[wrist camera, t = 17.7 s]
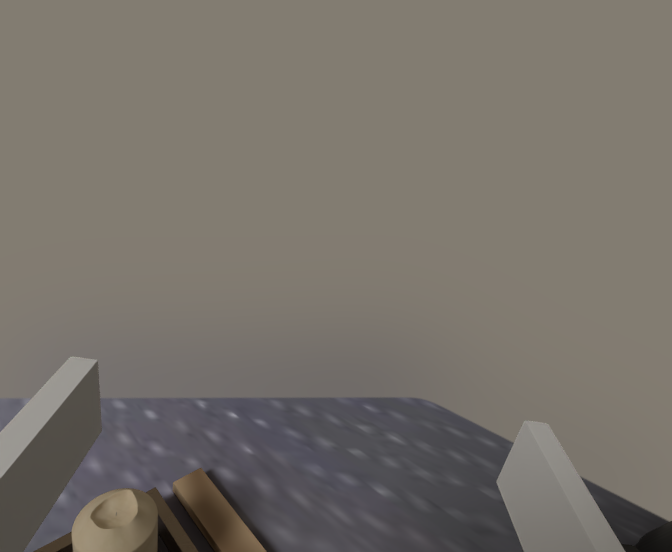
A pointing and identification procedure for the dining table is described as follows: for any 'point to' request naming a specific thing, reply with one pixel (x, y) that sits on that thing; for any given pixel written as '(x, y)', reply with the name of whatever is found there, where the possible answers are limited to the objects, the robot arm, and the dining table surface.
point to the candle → (117, 523)
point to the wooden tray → (167, 529)
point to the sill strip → (214, 515)
